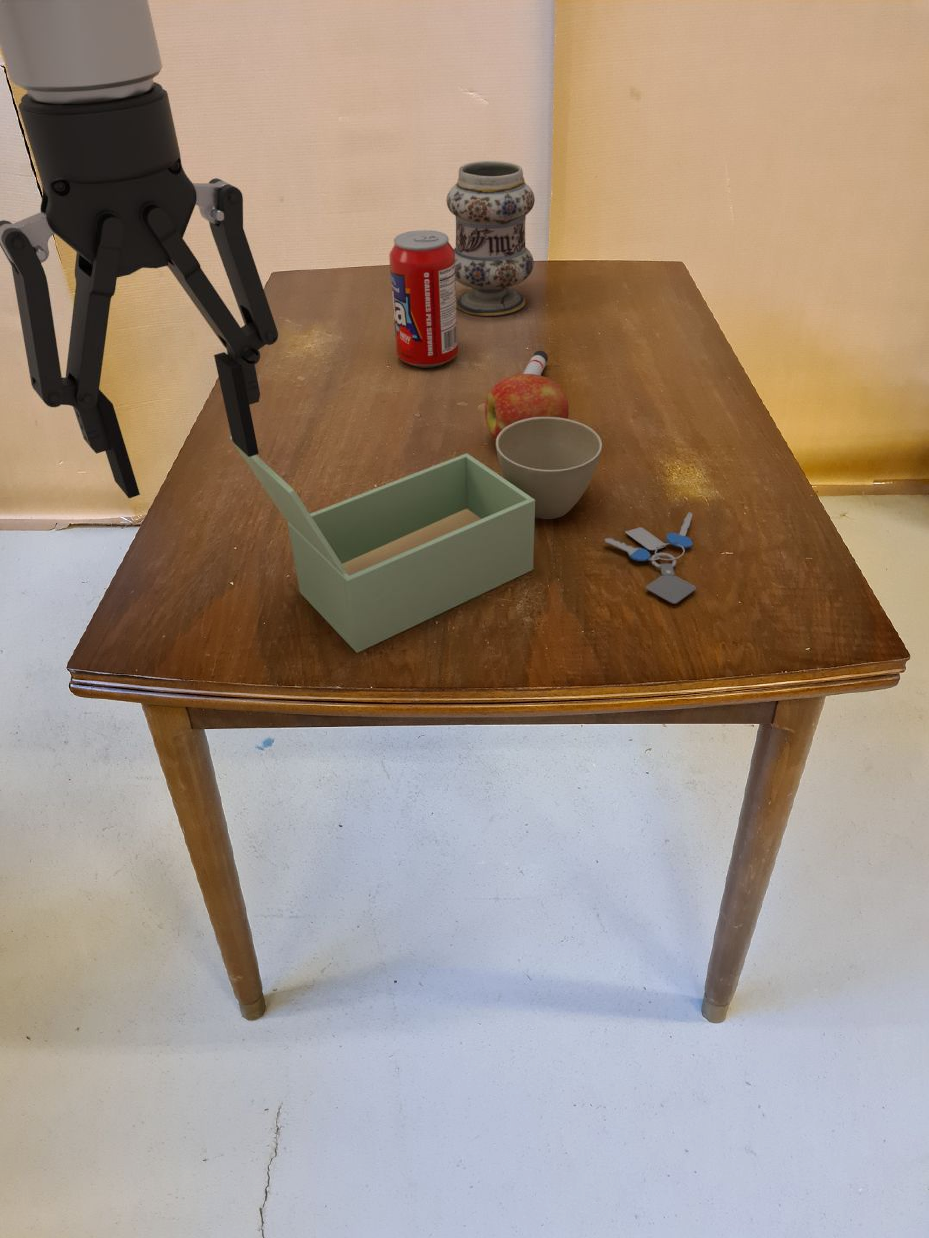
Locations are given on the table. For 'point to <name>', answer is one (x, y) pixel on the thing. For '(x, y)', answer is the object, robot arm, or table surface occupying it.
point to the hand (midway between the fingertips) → (188, 467)
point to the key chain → (667, 582)
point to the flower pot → (549, 461)
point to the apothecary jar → (491, 236)
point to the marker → (536, 363)
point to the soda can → (424, 298)
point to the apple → (523, 401)
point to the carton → (416, 550)
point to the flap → (291, 507)
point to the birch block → (411, 541)
